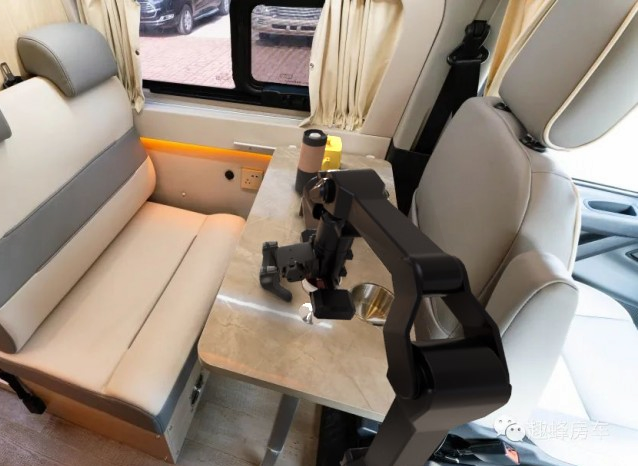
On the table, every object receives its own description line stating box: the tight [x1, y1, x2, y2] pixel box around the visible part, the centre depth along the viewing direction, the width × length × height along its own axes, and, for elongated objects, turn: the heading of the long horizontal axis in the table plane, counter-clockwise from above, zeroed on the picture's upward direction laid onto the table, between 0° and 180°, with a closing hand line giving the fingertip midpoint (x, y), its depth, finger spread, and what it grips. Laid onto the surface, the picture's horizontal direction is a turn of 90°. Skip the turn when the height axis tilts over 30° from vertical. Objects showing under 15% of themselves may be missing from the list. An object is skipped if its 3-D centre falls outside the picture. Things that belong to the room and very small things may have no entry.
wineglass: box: [298, 272, 343, 326], centre depth 62 cm, size 7×7×12 cm
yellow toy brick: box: [321, 135, 343, 171], centre depth 120 cm, size 20×12×12 cm, turn 167°
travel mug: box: [294, 128, 329, 195], centre depth 107 cm, size 8×8×20 cm
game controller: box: [258, 240, 293, 303], centre depth 82 cm, size 16×7×10 cm, turn 171°
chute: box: [298, 196, 319, 230], centre depth 91 cm, size 25×8×7 cm, turn 177°
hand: (315, 299), depth 63 cm, fingers closed on wineglass, 6 cm apart
